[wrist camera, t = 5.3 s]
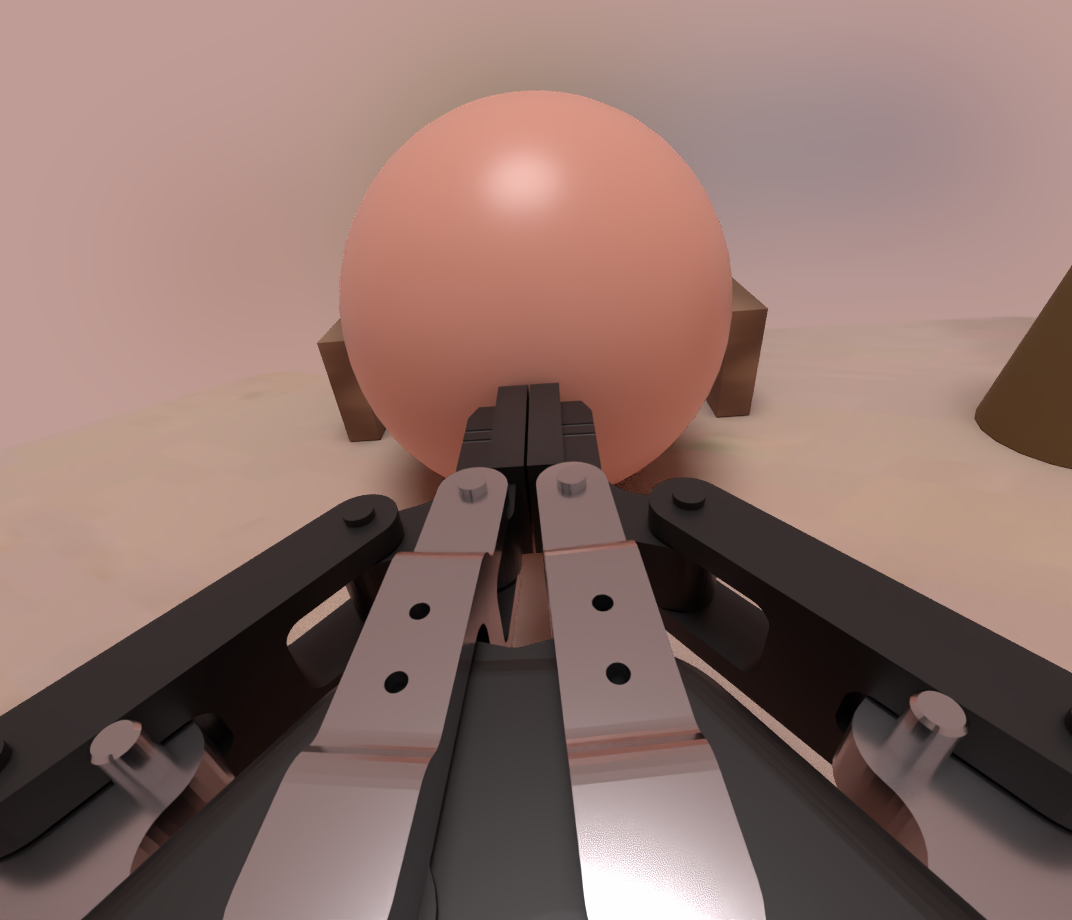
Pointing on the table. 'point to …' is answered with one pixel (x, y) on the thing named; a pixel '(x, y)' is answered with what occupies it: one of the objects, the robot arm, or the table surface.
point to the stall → (724, 398)
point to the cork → (1037, 387)
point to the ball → (536, 277)
